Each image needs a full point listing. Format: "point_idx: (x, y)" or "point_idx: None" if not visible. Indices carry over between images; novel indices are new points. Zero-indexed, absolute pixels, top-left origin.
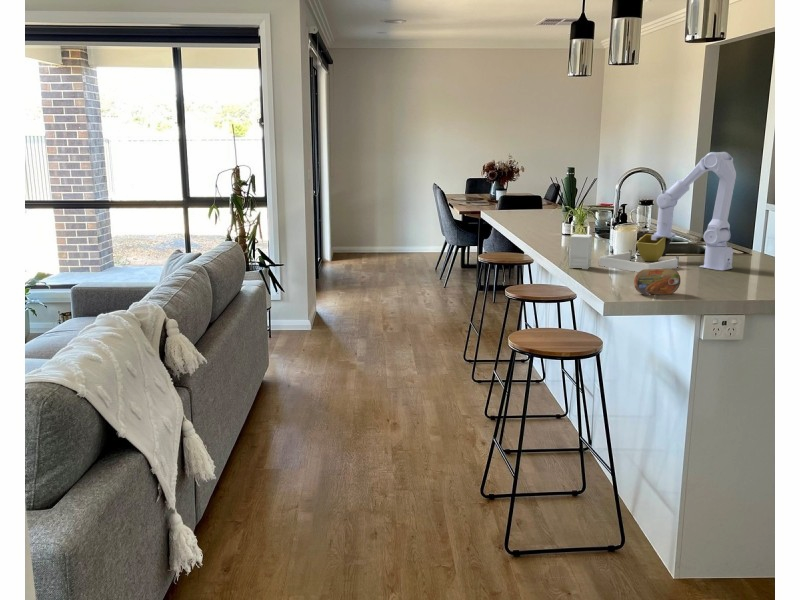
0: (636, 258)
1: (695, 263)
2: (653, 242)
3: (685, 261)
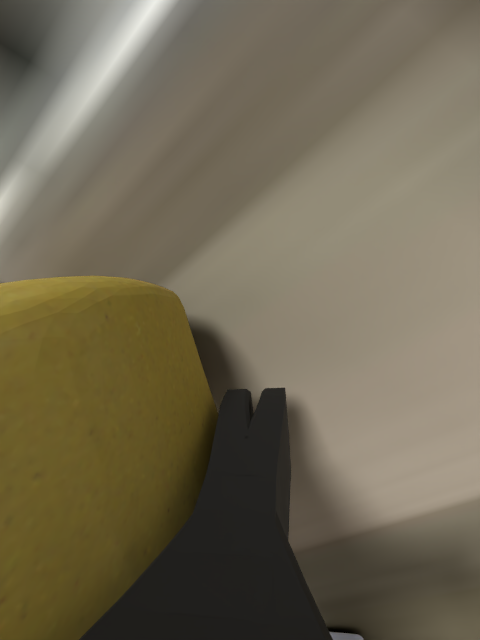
0: (95, 96)
1: (369, 574)
2: (25, 552)
3: (405, 511)
